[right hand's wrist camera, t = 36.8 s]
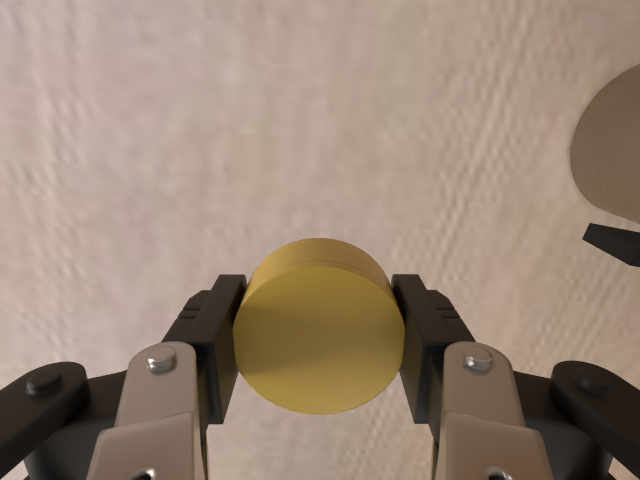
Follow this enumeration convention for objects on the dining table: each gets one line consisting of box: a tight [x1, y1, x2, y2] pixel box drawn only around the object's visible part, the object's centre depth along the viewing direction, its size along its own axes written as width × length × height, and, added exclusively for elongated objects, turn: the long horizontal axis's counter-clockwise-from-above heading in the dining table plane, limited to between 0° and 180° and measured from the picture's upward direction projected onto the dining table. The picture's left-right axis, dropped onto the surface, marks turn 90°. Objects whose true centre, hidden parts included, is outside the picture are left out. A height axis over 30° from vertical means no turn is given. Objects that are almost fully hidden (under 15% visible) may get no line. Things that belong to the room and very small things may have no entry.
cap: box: [233, 238, 405, 414], centre depth 11 cm, size 4×4×2 cm
